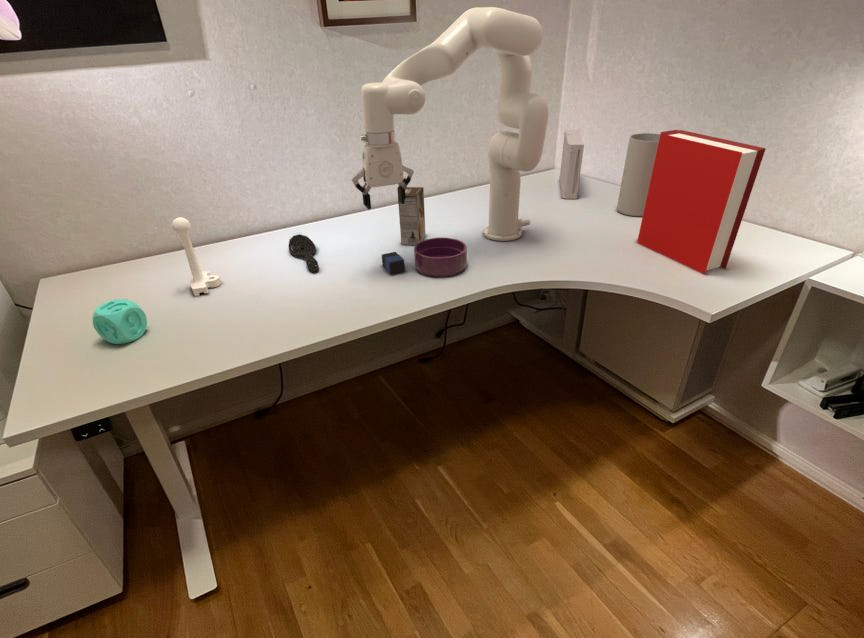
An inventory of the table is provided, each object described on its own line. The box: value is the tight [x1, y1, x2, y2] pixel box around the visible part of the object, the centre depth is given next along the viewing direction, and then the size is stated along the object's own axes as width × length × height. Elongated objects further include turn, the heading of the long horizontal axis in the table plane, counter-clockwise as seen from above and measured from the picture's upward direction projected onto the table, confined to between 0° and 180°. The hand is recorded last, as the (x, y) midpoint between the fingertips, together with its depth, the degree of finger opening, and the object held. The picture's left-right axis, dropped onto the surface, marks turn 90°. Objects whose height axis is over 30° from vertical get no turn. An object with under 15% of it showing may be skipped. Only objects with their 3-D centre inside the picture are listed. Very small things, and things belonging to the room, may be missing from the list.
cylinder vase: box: [616, 132, 661, 217], centre depth 174 cm, size 12×12×25 cm
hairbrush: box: [288, 232, 320, 274], centre depth 156 cm, size 8×4×25 cm
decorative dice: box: [92, 298, 148, 345], centre depth 119 cm, size 8×8×8 cm
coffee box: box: [397, 186, 426, 246], centre depth 161 cm, size 9×6×16 cm
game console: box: [558, 128, 585, 200], centre depth 200 cm, size 6×27×20 cm, turn 171°
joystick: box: [171, 216, 222, 297], centre depth 137 cm, size 11×8×20 cm
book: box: [636, 129, 767, 275], centre depth 141 cm, size 27×8×32 cm, turn 24°
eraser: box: [381, 251, 406, 276], centre depth 147 cm, size 5×7×4 cm, turn 25°
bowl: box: [413, 237, 468, 278], centre depth 146 cm, size 15×15×6 cm
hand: (385, 205), depth 137 cm, fingers open, 9 cm apart
